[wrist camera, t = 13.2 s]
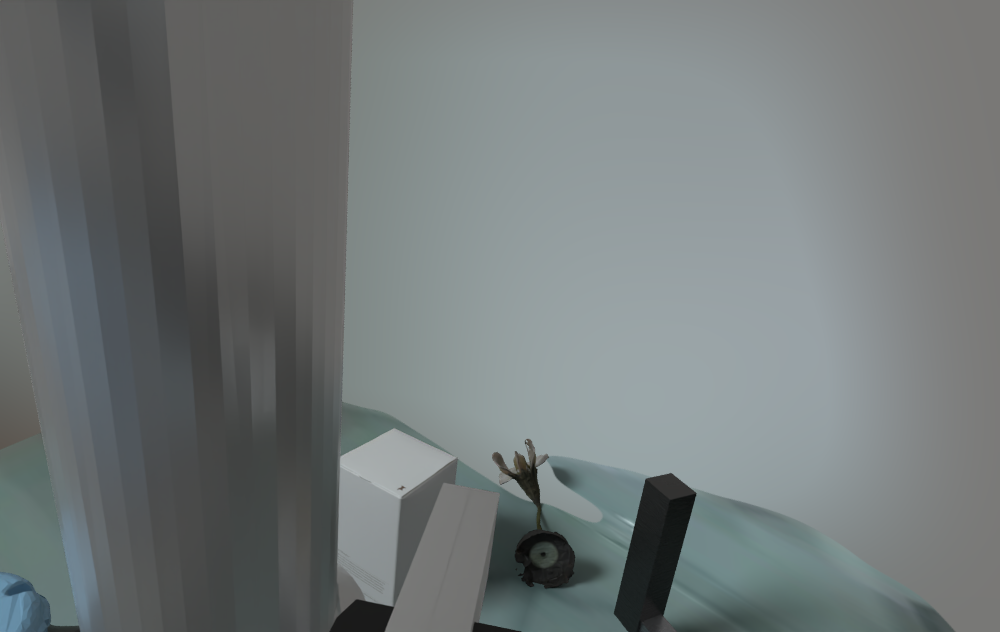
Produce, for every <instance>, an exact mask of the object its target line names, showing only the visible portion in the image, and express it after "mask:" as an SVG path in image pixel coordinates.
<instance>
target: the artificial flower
mask: <svg viewBox="0 0 1000 632" xmlns="http://www.w3.org/2000/svg"><path fill="white" fill-rule="evenodd" d="M526 440H527V441H528V442H527V445H528V446H529V451H528V448H527V451H528V456H529V460H530V462H528V463H526V461H525V458H524V456H523V455H520V454H518V453H517V452H516V451H515V457H514V465H515V467H514V468H511V469H508V468H507V466H506V464H505V463H504V461H503V458H502V456H501V455H500V454H499V453H498V452H496V453H493V455H492V459H493V461H494V462H495V463H496V464H497V466H498V467H499V468H500V470H501V471H502V472H501V473H500V474H499V478H500V480H499V483H500V485H502V484H503V483H505V482H508V481H510V480H511V479H515V480H516V481H517V482H518V484H519V485H520V487H521V488H522V489H523V490H524V491H525V493H526V495H527V496H528V497H529V498H530V499H531V500H532V501H533V502H534V504H535V505H536V506H537V508H538V512H537V529H538V530H533V531H531V532H529V533H527V534H526V535H524V536H523V537H522V539H521V541H520V542H519V543H518V545H517V550H516V551H515V552H516V554H515V558H516V561H517V563H523V565H524V566H525V570H524V573H523V574H521V573H520V575H518V576H523V575H524V576H523V578H521V580H522V581H526V584H527V585H528V586H530V587H533V586H534V584H533V583H532V582H535V583H539V584H543V585H545V586H544V587H545V589H546V588H549V587H557V586H559V585H562V584H564V583H566V584H567V583H568V580H569V578H570V577H572V575H573V574H574V572H573V567H574V562H575V555H574V551H573V550H572V548H571V546H570V545H569V544H568V542H567V540H566V539H565V538H564V537H563V536H562V535H560V534H558V533H557V532H554V533H553V532H549V531H544V530H542V528H541V525H540V512H541V505H540V489H539V485H538V481H537V469H536V467H538V466H539V465H541V464H543V463H544V462H545V461H546V459H547V458H549V456H548V455H547V454H545V455H540V456H537V457H536V454H535V448H534V446H533V444H532V441H531V440H530V439H526ZM526 440H525V444H526ZM516 570H517V569H516Z"/></svg>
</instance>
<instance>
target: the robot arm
mask: <svg viewBox="0 0 1000 632" xmlns="http://www.w3.org/2000/svg"><path fill="white" fill-rule="evenodd" d="M352 15H353V0H0V220H1V225H2V231H3V236H4V241H5V246H6V251H7V256H8V261H9V267H10V272H11V276H12V282H13V287H14V293H15V298H16V303H17V308H18V313H19V318H20V323H21V329H22V334H23V339H24V344H25V349H26V354H27V359H28V365H29V370H30V375H31V380H32V385H33V390H34V396H35V401H36V406H37V411H38V416H39V421H40V426H41V432H42V437H43V442H44V447H45V452H46V458H47V463H48V468H49V473H50V478H51V483H52V488H53V494H54V499H55V504H56V509H57V514H58V519H59V525H60V530H61V535H62V540H63V545H64V550H65V555H66V561H67V566H68V571H69V576H70V581H71V586H72V592H73V597H74V602H75V607H76V612H77V617H78V622H79V626H54V625H51V624H50V622H51V614H50V605H49V603H48V601H47V599H46V598H45V597H43V596H41V595H39V594H38V593H36V591H35V590H34V588H33V585H32V584H31V583H30V582H29V581H28V580H26V579H24V578H22V577H20V576H18V575H14V574H11V573H5V572H0V632H521V631H516V630H511V629H506V628H501V627H496V626H492V625H487V624H482V623H479V619H480V614H481V609H482V604H483V599H484V594H485V589H486V584H487V579H488V572H489V565H490V558H491V551H492V544H493V537H494V530H495V523H496V516H497V509H498V502H499V495H500V493H496V492H491V491H485V490H480V489H475V488H469V487H464V486H458V485H453V484H448V483H443V485H442V488H441V490H440V493H439V495H438V498H437V500H436V503H435V505H434V508H433V510H432V513H431V516H430V518H429V521H428V523H427V526H426V528H425V531H424V533H423V536H422V538H421V541H420V543H419V546H418V549H417V551H416V554H415V556H414V559H413V561H412V564H411V566H410V569H409V571H408V574H407V576H406V579H405V581H404V584H403V587H402V589H401V592H400V594H399V597H398V599H397V602H396V604H395V607H392V606H387V605H383V604H378V603H373V602H368V601H366V600H365V598H364V596H363V593H362V591H361V589H360V587H359V586H358V584H357V583H356V581H355V580H354V579H353V577H352V576H351V575H350V574H349V573H348V572H347V571H346V570H345V569H344V568H343V567H342V566H341V565H339V564H338V563H337V556H338V521H339V485H340V449H341V413H342V376H343V341H344V340H343V339H344V304H345V303H344V302H345V269H346V234H347V196H348V194H347V193H348V162H349V124H350V89H351V87H350V86H351V52H352V17H353V16H352Z"/></svg>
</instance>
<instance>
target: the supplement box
mask: <svg viewBox="0 0 1000 632" xmlns="http://www.w3.org/2000/svg"><path fill="white" fill-rule="evenodd" d="M457 460H458V458H456V457H454V456H452V455H450V454H448V453H445V452H443V451H441V450H439V449H437V448H435V447H432V446H430V445H428V444H426V443H424V442H422V441H420V440H418V439H415V438H413V437H411V436H409V435H407V434H405V433H403V432H401V431H399V430H397V429H395V428H394V429H392V430H390V431H388V432H386V433H384V434H383V435H381V436H379V437H377V438H375V439H374V440H372V441H370V442H368V443H366V444H364V445H362V446H360V447H358V448H356V449H354V450H352V451H350V452H348V453H346V454H345V455H343V456H341V457H340V485H339V521H338V556H337V563H338V564H339V565H341V566H342V567H343V568H344V569H345V570H346V571H347V572H348V573H349V574H350V575H351V576H352V577H353V579H354V580H355V581H356V583H357V584H358V586H359V587H360V589H361V591H362V593H363V596H364V598H365V600H366V601H368V602H373V603H378V604H383V605H387V606H392V607H395V604H396V602H397V599H398V597H399V594H400V592H401V589H402V587H403V584H404V581H405V579H406V576H407V574H408V571H409V569H410V566H411V564H412V561H413V559H414V556H415V554H416V551H417V549H418V546H419V543H420V541H421V538H422V536H423V533H424V531H425V528H426V526H427V523H428V521H429V518H430V516H431V513H432V510H433V508H434V505H435V503H436V500H437V498H438V495H439V493H440V490H441V488H442V485H443V483H448V484H453V485H455V478H456V469H457Z"/></svg>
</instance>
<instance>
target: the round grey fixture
mask: <svg viewBox="0 0 1000 632" xmlns="http://www.w3.org/2000/svg"><path fill="white" fill-rule="evenodd" d="M696 494H697V493H696V492H694V491H693V490H692V489H691V488H689V487H688V486H687V485H685V484H684V483H683V482H682V481H681V480H679V479H678V478H677V477H675V476H674V475H673V474H672V473H670V474H666V475H661V476H656V477H652V478H647V479H646V480H645V484H644V488H643V493H642V497H641V501H640V505H639V509H638V514H637V518H636V522H635V526H634V531H633V535H632V539H631V543H630V547H629V552H628V556H627V560H626V564H625V569H624V573H623V577H622V581H621V585H620V590H619V594H618V598H617V602H616V606H615V611H614V614H615V616H616V617H617V618H618V619H619V621H620V622H621V623H622V625H623V626H624V627H625V628H626V630H627V631H628V632H677V631H676V630H675V629H674V628H673V627H672V626H671V624H670V623H669V622H668V621H667V620H666V619H665V618H664V616H663V615H664V611H665V607H666V604H667V600H668V596H669V593H670V589H671V585H672V582H673V578H674V574H675V571H676V567H677V563H678V560H679V556H680V552H681V549H682V545H683V541H684V538H685V534H686V530H687V527H688V523H689V519H690V516H691V512H692V508H693V505H694V501H695V497H696Z"/></svg>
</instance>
